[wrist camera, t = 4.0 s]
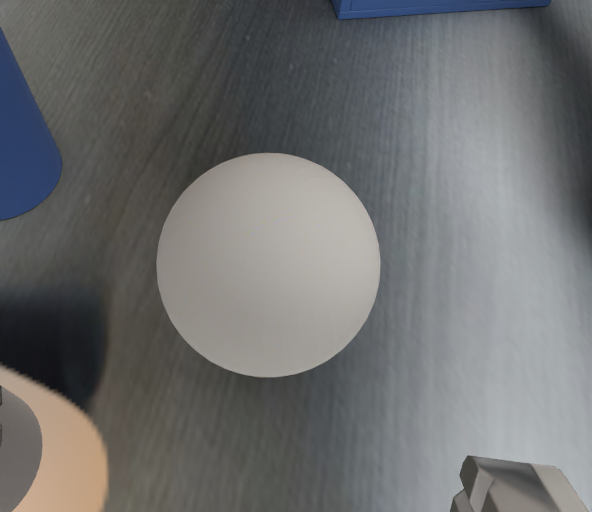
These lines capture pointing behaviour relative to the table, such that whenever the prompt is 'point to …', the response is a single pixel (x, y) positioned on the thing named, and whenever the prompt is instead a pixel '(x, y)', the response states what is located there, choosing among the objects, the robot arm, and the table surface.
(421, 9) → the blue tray
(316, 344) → the light bulb
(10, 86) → the blue pillar
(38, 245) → the table surface
